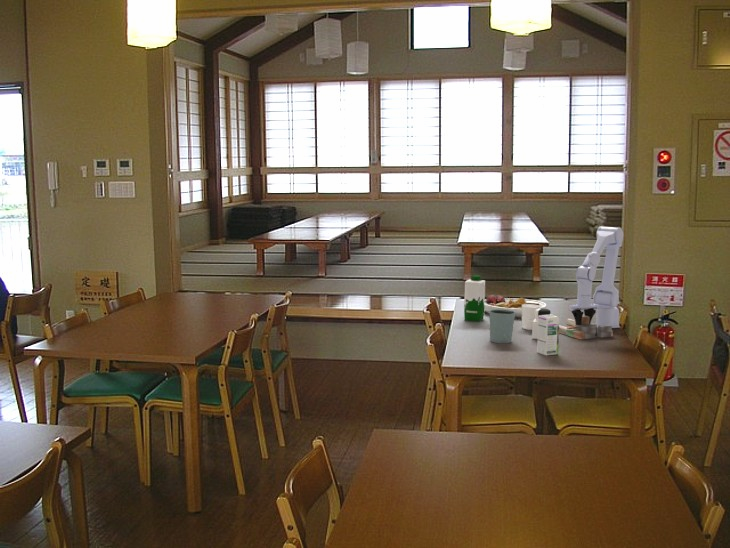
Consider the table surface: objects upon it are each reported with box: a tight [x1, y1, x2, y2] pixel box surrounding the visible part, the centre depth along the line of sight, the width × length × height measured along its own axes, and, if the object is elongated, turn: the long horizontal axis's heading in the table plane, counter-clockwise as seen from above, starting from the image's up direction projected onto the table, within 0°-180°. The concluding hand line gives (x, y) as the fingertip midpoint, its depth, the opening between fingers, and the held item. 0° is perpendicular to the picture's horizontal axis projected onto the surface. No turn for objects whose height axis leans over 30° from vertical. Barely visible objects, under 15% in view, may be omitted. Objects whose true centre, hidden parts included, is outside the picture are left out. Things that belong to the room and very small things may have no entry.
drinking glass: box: [488, 310, 515, 344], centre depth 324 cm, size 10×10×12 cm
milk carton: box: [463, 274, 486, 323], centre depth 367 cm, size 9×9×20 cm
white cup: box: [521, 304, 540, 331], centre depth 350 cm, size 8×8×10 cm
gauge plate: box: [566, 322, 598, 335], centre depth 336 cm, size 15×7×4 cm, turn 114°
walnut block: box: [574, 314, 590, 330], centre depth 342 cm, size 4×4×6 cm
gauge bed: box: [559, 318, 614, 340], centre depth 345 cm, size 17×28×5 cm, turn 24°
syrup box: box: [536, 313, 560, 356], centre depth 303 cm, size 6×6×14 cm
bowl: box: [484, 294, 547, 319], centre depth 387 cm, size 30×30×8 cm
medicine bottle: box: [531, 308, 551, 340], centre depth 331 cm, size 7×7×12 cm
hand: (582, 326), depth 342 cm, fingers closed on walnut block, 4 cm apart
